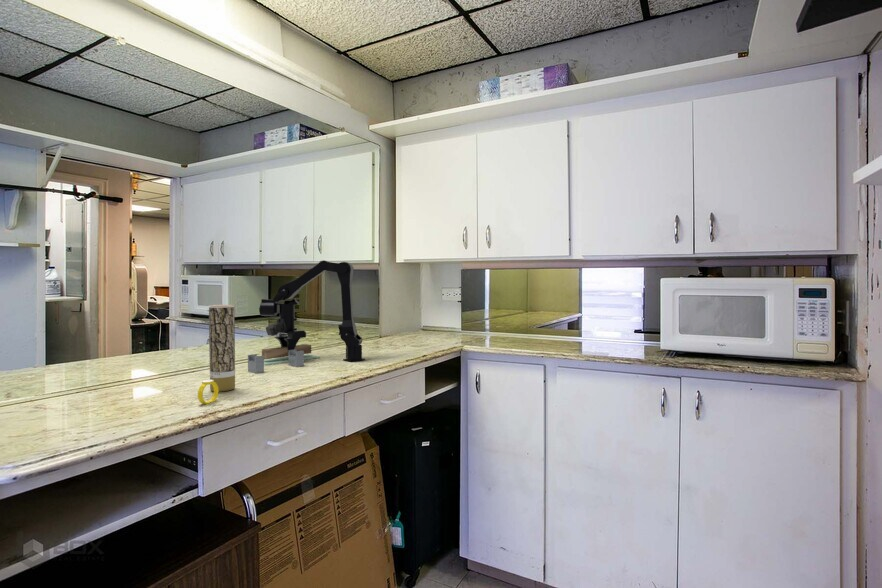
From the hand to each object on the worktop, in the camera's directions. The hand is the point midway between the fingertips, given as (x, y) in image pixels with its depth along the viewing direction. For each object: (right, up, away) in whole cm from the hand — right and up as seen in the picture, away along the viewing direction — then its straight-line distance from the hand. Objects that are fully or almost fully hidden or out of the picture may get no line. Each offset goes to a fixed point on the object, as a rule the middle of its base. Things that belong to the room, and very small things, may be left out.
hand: (287, 354), depth 190 cm
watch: (0, -5, -66) cm, 66 cm away
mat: (0, -3, 0) cm, 2 cm away
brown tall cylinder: (-3, -4, -51) cm, 51 cm away
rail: (0, -1, 0) cm, 1 cm away
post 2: (+7, -3, -12) cm, 14 cm away
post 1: (-4, -3, -24) cm, 24 cm away
